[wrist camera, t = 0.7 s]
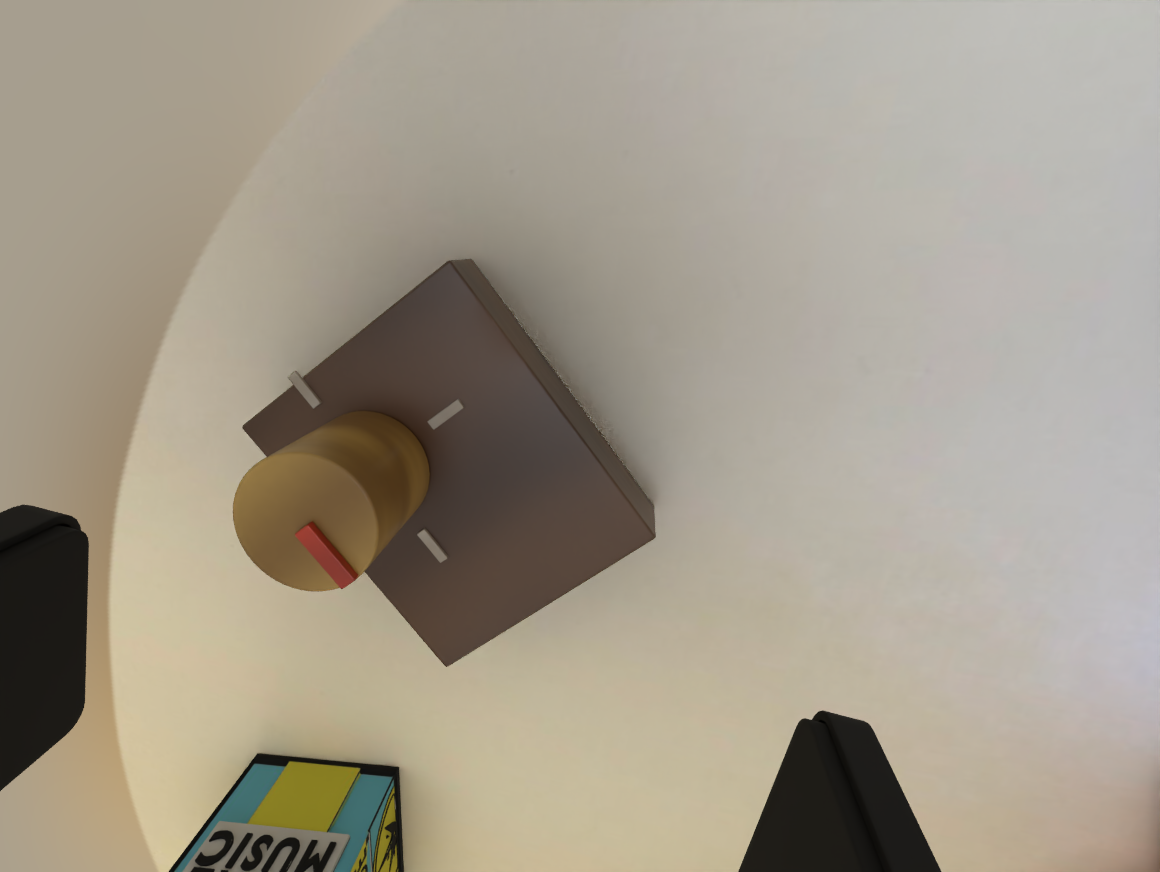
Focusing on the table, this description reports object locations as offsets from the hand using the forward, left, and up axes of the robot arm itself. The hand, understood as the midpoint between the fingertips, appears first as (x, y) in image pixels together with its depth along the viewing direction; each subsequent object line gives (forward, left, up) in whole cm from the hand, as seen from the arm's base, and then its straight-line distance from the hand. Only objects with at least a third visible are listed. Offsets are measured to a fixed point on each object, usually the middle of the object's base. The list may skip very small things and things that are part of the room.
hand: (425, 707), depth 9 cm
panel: (0, -5, -18) cm, 19 cm away
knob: (-2, -7, -15) cm, 17 cm away
